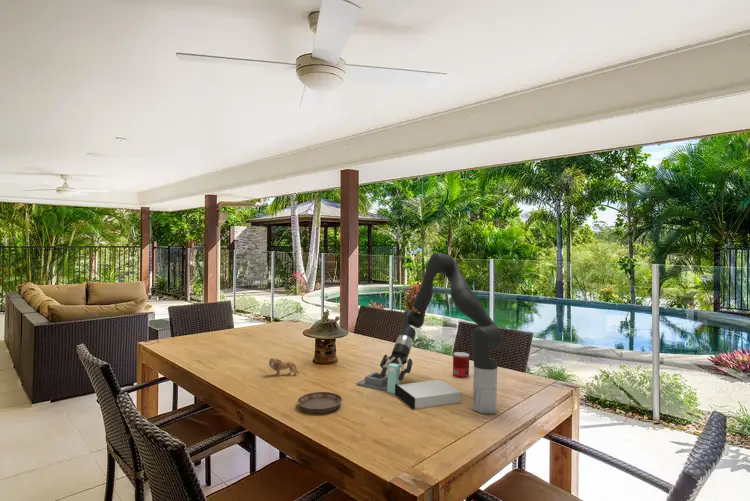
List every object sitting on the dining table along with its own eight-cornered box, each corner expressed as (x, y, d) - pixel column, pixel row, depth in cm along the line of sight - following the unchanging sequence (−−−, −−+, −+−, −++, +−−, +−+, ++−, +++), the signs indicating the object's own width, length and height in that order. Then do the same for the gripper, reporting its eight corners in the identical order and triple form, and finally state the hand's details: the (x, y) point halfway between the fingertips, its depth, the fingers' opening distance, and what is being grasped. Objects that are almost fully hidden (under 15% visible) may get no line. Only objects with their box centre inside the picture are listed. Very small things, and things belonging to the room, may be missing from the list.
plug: (399, 391, 188) (400, 364, 188) (395, 394, 185) (395, 366, 185) (391, 389, 190) (392, 363, 190) (387, 392, 187) (387, 365, 187)
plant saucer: (300, 418, 158) (300, 409, 158) (295, 400, 175) (295, 393, 175) (346, 413, 163) (346, 405, 163) (337, 397, 180) (337, 390, 180)
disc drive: (394, 395, 184) (394, 384, 184) (439, 389, 193) (439, 378, 193) (413, 410, 168) (413, 398, 168) (461, 403, 177) (461, 391, 176)
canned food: (469, 378, 208) (469, 356, 208) (452, 377, 210) (453, 355, 210) (468, 374, 216) (469, 352, 215) (452, 372, 217) (453, 351, 217)
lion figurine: (269, 378, 203) (269, 359, 203) (268, 375, 208) (268, 356, 208) (299, 375, 208) (300, 357, 207) (298, 372, 213) (298, 354, 212)
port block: (399, 383, 198) (399, 375, 198) (387, 391, 188) (387, 382, 188) (369, 378, 206) (369, 369, 206) (356, 385, 195) (356, 376, 195)
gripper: (386, 340, 198) (374, 371, 188) (414, 344, 191) (403, 376, 181) (391, 349, 202) (379, 379, 193) (418, 353, 196) (408, 385, 186)
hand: (391, 378), depth 187 cm, fingers open, 8 cm apart
